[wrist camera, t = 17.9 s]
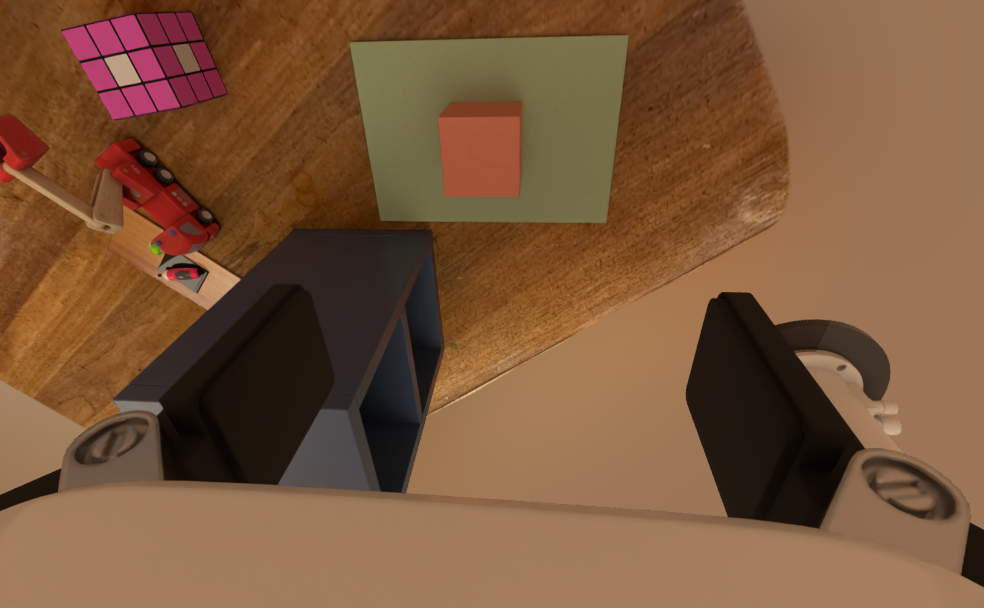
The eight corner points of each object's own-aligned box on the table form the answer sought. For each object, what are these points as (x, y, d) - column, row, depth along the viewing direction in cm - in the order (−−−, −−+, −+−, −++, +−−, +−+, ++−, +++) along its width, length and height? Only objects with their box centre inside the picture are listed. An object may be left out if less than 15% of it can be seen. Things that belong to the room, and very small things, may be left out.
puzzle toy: (166, 106, 37) (112, 121, 32) (125, 25, 34) (58, 29, 29) (228, 94, 36) (182, 108, 32) (191, 10, 33) (133, 12, 28)
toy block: (522, 101, 34) (520, 116, 30) (521, 173, 37) (519, 197, 33) (450, 102, 35) (437, 117, 30) (455, 173, 38) (444, 196, 33)
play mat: (628, 34, 32) (628, 34, 31) (605, 221, 40) (606, 223, 39) (351, 41, 33) (349, 42, 33) (381, 219, 41) (380, 221, 41)
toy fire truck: (205, 244, 44) (132, 298, 36) (76, 116, 38) (-46, 146, 30) (228, 229, 43) (157, 281, 35) (98, 94, 37) (-23, 119, 29)
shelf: (431, 230, 41) (347, 410, 23) (444, 349, 49) (389, 555, 31) (294, 228, 42) (111, 399, 24) (328, 346, 50) (208, 542, 32)
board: (125, 204, 43) (112, 210, 41) (244, 279, 46) (235, 287, 45) (108, 248, 45) (96, 255, 44) (221, 316, 49) (213, 324, 48)
